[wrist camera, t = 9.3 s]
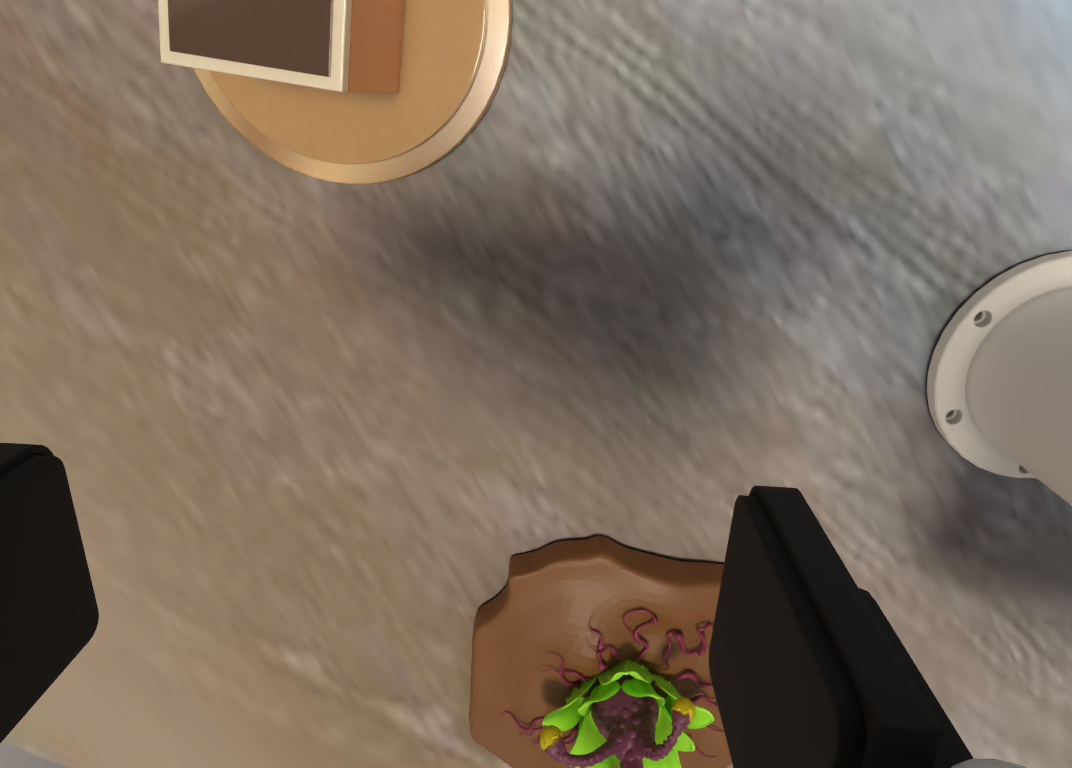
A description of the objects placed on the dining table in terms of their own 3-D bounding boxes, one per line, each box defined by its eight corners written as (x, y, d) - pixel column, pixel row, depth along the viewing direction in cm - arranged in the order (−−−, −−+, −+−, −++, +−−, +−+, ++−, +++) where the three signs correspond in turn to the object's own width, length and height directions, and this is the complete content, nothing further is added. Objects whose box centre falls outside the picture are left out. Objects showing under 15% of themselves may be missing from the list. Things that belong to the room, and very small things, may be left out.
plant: (440, 738, 50) (408, 908, 39) (506, 509, 42) (489, 643, 32) (709, 797, 51) (748, 976, 41) (819, 585, 44) (899, 737, 33)
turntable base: (575, -46, 31) (576, -52, 30) (414, 238, 36) (408, 243, 35) (268, -273, 29) (254, -290, 27) (139, 67, 34) (122, 66, 32)
